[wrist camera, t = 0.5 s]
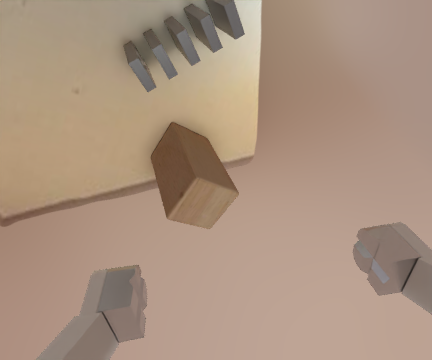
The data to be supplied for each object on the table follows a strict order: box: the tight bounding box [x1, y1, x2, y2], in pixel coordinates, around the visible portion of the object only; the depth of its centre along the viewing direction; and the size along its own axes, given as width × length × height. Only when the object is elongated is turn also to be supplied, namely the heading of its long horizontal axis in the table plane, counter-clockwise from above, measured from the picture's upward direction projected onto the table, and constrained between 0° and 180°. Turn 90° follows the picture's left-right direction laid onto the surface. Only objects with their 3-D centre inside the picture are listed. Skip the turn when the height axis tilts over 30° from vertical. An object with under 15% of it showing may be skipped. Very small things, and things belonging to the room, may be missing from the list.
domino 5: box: [206, 0, 245, 39], centre depth 45 cm, size 2×5×10 cm, turn 24°
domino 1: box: [124, 41, 156, 92], centre depth 46 cm, size 2×5×10 cm, turn 24°
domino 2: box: [143, 29, 178, 79], centre depth 45 cm, size 2×5×10 cm, turn 24°
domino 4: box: [184, 4, 223, 53], centre depth 45 cm, size 2×5×10 cm, turn 24°
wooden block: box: [151, 123, 239, 229], centre depth 57 cm, size 10×10×20 cm
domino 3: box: [164, 16, 201, 66], centre depth 45 cm, size 2×5×10 cm, turn 24°
